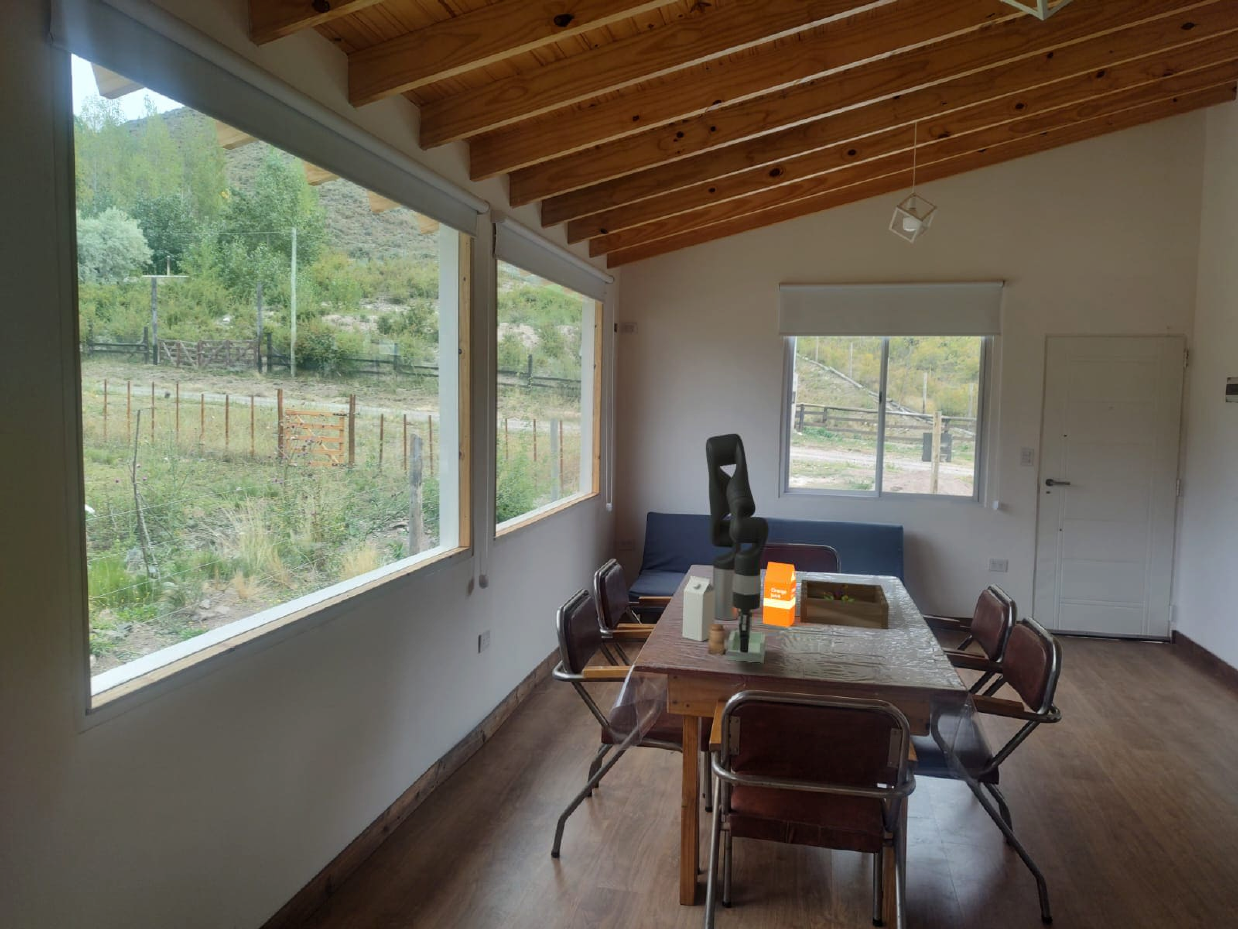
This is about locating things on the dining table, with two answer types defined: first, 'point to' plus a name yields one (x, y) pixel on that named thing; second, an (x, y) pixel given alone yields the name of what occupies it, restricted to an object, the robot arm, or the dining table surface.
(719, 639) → the brown ridged cylinder
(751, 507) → the robot arm
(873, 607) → the planter frame
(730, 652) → the panel
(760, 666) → the dining table surface
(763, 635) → the crate
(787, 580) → the orange juice
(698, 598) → the milk carton
